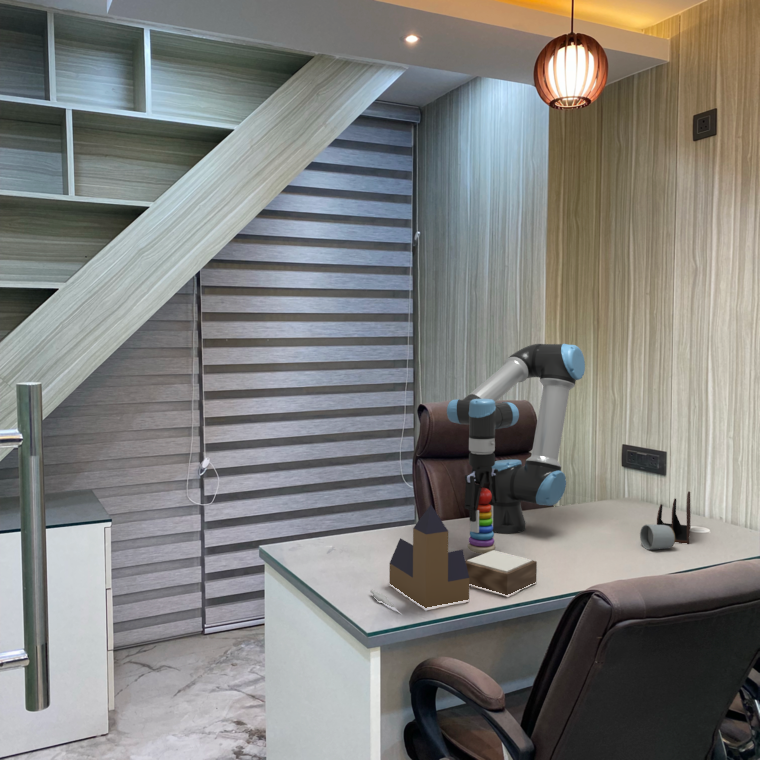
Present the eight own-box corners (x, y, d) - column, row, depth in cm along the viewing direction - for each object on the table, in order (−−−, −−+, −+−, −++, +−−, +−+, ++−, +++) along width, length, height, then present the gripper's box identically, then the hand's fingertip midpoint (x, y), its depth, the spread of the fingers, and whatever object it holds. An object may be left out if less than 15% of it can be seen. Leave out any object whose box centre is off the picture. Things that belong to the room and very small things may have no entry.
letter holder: (690, 529, 244) (691, 488, 243) (688, 544, 226) (690, 501, 225) (659, 525, 248) (660, 485, 247) (655, 540, 230) (656, 497, 229)
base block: (462, 584, 189) (462, 560, 189) (492, 571, 199) (492, 548, 199) (507, 597, 180) (507, 572, 179) (536, 583, 190) (536, 560, 189)
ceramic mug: (676, 551, 218) (677, 526, 218) (653, 552, 217) (653, 527, 216) (656, 541, 229) (656, 518, 228) (633, 543, 227) (633, 519, 227)
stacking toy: (481, 556, 205) (481, 492, 204) (462, 549, 212) (462, 487, 210) (500, 551, 210) (501, 488, 208) (481, 544, 216) (481, 483, 215)
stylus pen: (366, 595, 181) (366, 588, 180) (375, 594, 182) (375, 587, 182) (397, 619, 168) (397, 611, 168) (406, 617, 169) (407, 610, 169)
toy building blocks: (425, 611, 171) (426, 508, 169) (389, 586, 188) (389, 492, 186) (469, 602, 177) (470, 503, 175) (430, 579, 193) (431, 488, 192)
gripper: (472, 458, 199) (472, 539, 201) (511, 449, 213) (510, 524, 215) (451, 455, 204) (451, 533, 206) (490, 446, 218) (489, 520, 220)
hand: (481, 529), depth 210 cm, fingers closed on stacking toy, 6 cm apart
